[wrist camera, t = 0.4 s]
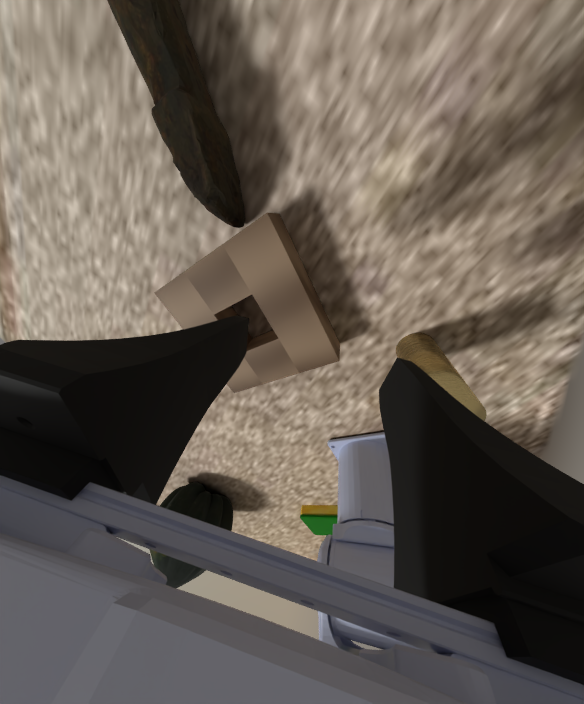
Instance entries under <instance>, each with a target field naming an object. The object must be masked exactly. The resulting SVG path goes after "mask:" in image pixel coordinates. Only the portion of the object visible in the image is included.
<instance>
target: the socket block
mask: <svg viewBox="0 0 584 704" xmlns="http://www.w3.org/2000/svg"><path fill="white" fill-rule="evenodd" d="M155 294H156V296H157V297H158V298H159V299H160V301H161V302H162V303H163V304H164V306H165V307H166V308H167V309H168V311H169V312H170V313H171V314H172V316H173V317H174V318H175V320H176V321H177V322H178V323H179V325H180V326H181V327H182V328H183V329H187V328H191V327H195V326H199V325H203V324H207V323H210V322H213V321H217V320H220V319H224V318H227V317H231V316H238V315H237V314H236V312H235V311H234V309H233V308H232V306H231V305H233V304H235V303H237V302H239V301H241V300H242V299H244V298H246V297H248V296H250V295H253V297H254V298H255V300H256V302H257V303H258V305H259V307H260V308H261V310H262V312H263V313H264V315H265V317H266V318H267V320H268V322H269V323H270V325H271V327H272V328H273V330H272V331H269V332H267V333H265V334H262V335H260V336H257V337H255V338H252V337H251V335H250V334H249V332H248V338H247V352H246V355H245V357H244V359H243V360H242V362H241V364H240V366H239V368H238V369H237V370H236V372H235V373H234V375H233V376H232V377H231V379H230V380H229V381H228V382H227V385H228V386H229V387H230V389H231V390H232V391H233V392H234V393H235V392H239V391H242V390H245V389H249V388H252V387H255V386H258V385H262V384H265V383H268V382H272V381H275V380H278V379H281V378H285V377H288V376H291V375H295V374H298V373H301V372H304V371H308V370H311V369H314V368H318V367H321V366H324V365H327V364H331V363H334V362H337V361H339V354H340V343H339V341H338V339H337V336H336V334H335V332H334V330H333V328H332V326H331V324H330V321H329V319H328V317H327V315H326V313H325V311H324V309H323V306H322V304H321V302H320V300H319V298H318V296H317V294H316V291H315V289H314V287H313V285H312V283H311V281H310V279H309V276H308V274H307V272H306V270H305V268H304V266H303V264H302V261H301V259H300V257H299V255H298V253H297V251H296V249H295V246H294V244H293V242H292V240H291V238H290V236H289V234H288V231H287V229H286V227H285V225H284V223H283V221H282V219H281V216H280V214H276V213H266V214H265V215H263V216H262V217H260V218H259V219H258V220H256V221H255V222H253V223H252V224H251V225H249V226H248V227H246V228H245V229H243V230H242V231H241V232H239V233H238V234H236V235H235V236H234V237H232V238H231V239H229V240H228V241H227V242H225V243H224V244H222V245H221V246H220V247H218V248H217V249H215V250H214V251H213V252H211V253H210V254H208V255H207V256H205V257H204V258H203V259H201V260H200V261H198V262H197V263H196V264H194V265H193V266H191V267H190V268H189V269H187V270H186V271H184V272H183V273H182V274H180V275H179V276H177V277H176V278H175V279H173V280H172V281H170V282H169V283H167V284H166V285H165V286H163V287H162V288H160V289H159V290H158V291H156V292H155Z"/></svg>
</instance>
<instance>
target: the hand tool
mask: <svg viewBox="0 0 584 704" xmlns="http://www.w3.org/2000/svg"><path fill="white" fill-rule="evenodd" d="M107 1H108V3H109V5H110V8H111V10H112V12H113V14H114V17H115V19H116V21H117V23H118V25H119V27H120V29H121V31H122V33H123V36H124V38H125V40H126V42H127V45H128V47H129V49H130V51H131V53H132V55H133V57H134V59H135V62H136V64H137V66H138V68H139V70H140V72H141V74H142V76H143V78H144V80H145V82H146V84H147V86H148V88H149V90H150V93H151V95H152V98H153V100H154V104H155V106H154V107H153V108H152V116H153V118H154V121H155V123H156V125H157V127H158V129H159V132H160V134H161V136H162V139H163V140H164V142H165V144H166V145H167V147H168V148H169V150H170V152H171V154H172V156H173V163H174V164H175V165H176V167H177V168H178V170H179V171H180V175H181V177H182V178H183V180H184V182H185V184H186V185H187V186H188V188H189V189H190V191H191V192H192V193H193V195H194V197H196V198H197V199H198V200H199V201H200V202H201V204H203V205H204V206H205V208H206V209H207V210H208V211H209V212H211V213H212V214H214V215H215V216H217V217H218V218H219V219H221V220H222V221H224V222H225V223H227V224H229V225H231V226H233V227H237V228H240V227H243V226H244V222H245V214H244V205H243V200H242V193H241V189H240V182H239V177H238V174H237V171H236V168H235V163H234V159H233V154H232V150H231V145H230V141H229V137H228V135H227V133H226V131H225V129H224V127H223V125H222V124H221V122H220V121H219V118H218V116H217V114H216V112H215V109H214V107H213V104H212V101H211V98H210V95H209V93H208V90H207V87H206V84H205V81H204V78H203V75H202V72H201V69H200V66H199V62H198V59H197V56H196V53H195V51H194V48H193V45H192V42H191V39H190V37H189V34H188V31H187V27H186V23H185V20H184V16H183V13H182V10H181V7H180V5H179V2H178V0H107Z"/></svg>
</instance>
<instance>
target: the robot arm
mask: <svg viewBox="0 0 584 704" xmlns="http://www.w3.org/2000/svg"><path fill="white" fill-rule="evenodd" d="M248 324H249V318H245V317H241V316H231V317H227V318H224V319H220V320H217V321H213V322H210V323H207V324H203V325H199V326H195V327H191V328H187V329H183V330H179V331H174V332H169V333H163V334H157V335H151V336H142V337H132V338H123V339H108V340H83V341H51V340H16V341H11V342H7V343H4V344H2V345H0V704H584V484H582V483H580V482H579V481H577V480H575V479H573V478H571V477H570V476H568V475H566V474H565V473H563V472H561V471H559V470H558V469H556V468H555V467H553V466H551V465H550V464H548V463H546V462H544V461H543V460H541V459H540V458H538V457H537V456H535V455H533V454H532V453H530V452H529V451H527V450H526V449H524V448H522V447H521V446H519V445H518V444H516V443H515V442H513V441H512V440H510V439H509V438H507V437H506V436H504V435H503V434H501V433H500V432H498V431H497V430H496V429H494V428H493V427H491V426H490V425H489V424H487V423H486V422H484V421H483V420H482V419H480V418H479V417H478V416H476V415H475V414H474V413H473V412H471V411H470V410H469V409H468V408H466V407H465V406H464V405H463V404H461V403H460V402H459V401H458V400H456V399H455V398H454V397H453V396H452V395H451V394H449V393H448V392H447V391H446V390H445V389H444V388H442V387H441V386H440V385H439V384H438V383H437V382H436V381H435V380H433V379H432V378H431V377H430V376H429V375H428V374H427V373H425V372H424V371H423V370H422V369H421V368H420V367H418V366H417V365H416V364H414V363H413V362H411V361H408V360H404V359H401V358H397V359H396V361H395V363H394V365H393V366H392V368H391V370H390V372H389V373H388V375H387V377H386V379H385V381H384V382H383V384H382V386H381V388H380V389H379V402H380V412H381V418H382V423H383V428H384V432H381V433H374V434H367V435H360V436H354V437H347V438H340V439H333V440H329V441H328V446H329V447H330V449H331V450H332V452H333V453H334V455H335V456H336V458H337V460H338V461H339V474H338V521H337V524H333V535H327V536H326V537H325V539H324V541H323V542H322V543H321V546H320V549H319V553H318V560H317V561H315V560H312V559H309V558H306V557H303V556H300V555H298V554H295V553H292V552H289V551H286V550H283V549H280V548H277V547H275V546H272V545H269V544H266V543H263V542H260V541H257V540H255V539H252V538H249V537H246V536H243V535H240V534H237V533H234V532H232V531H229V530H226V529H223V528H220V527H217V526H214V525H212V524H209V523H206V522H203V521H200V520H197V519H194V518H191V517H189V516H186V515H183V514H180V513H177V512H174V511H171V510H169V509H166V508H163V507H160V506H157V505H156V504H157V501H158V499H159V497H160V495H161V493H162V491H163V489H164V487H165V485H166V483H167V481H168V479H169V478H170V476H171V474H172V472H173V470H174V468H175V466H176V464H177V462H178V460H179V458H180V457H181V455H182V453H183V451H184V449H185V447H186V445H187V444H188V442H189V440H190V438H191V437H192V435H193V433H194V431H195V430H196V428H197V426H198V425H199V423H200V421H201V420H202V418H203V416H204V415H205V413H206V411H207V410H208V408H209V407H210V405H211V404H212V402H213V401H214V400H215V398H216V397H217V396H218V394H219V393H220V392H221V390H222V389H223V388H224V386H225V385H226V384H227V382H228V381H229V380H230V379H231V377H232V376H233V375H234V373H235V372H236V370H237V369H238V368H239V366H240V364H241V362H242V360H243V359H244V357H245V355H246V352H247V338H248ZM117 537H118V538H117ZM119 538H121V539H124V540H126V541H129V542H132V543H134V544H137V545H140V546H143V547H146V548H148V549H151V550H154V551H156V552H159V553H162V554H164V555H167V556H170V557H173V558H175V559H178V560H181V561H183V562H186V563H189V564H192V565H194V566H197V567H200V568H202V569H205V570H208V571H211V572H213V573H216V574H219V575H222V576H224V577H227V578H230V579H232V580H235V581H238V582H241V583H243V584H246V585H249V586H251V587H254V588H257V589H260V590H262V591H265V592H268V593H270V594H273V595H276V596H279V597H281V598H284V599H287V600H289V601H292V602H295V603H298V604H300V605H303V606H306V607H309V608H311V609H314V610H317V611H318V616H319V640H317V639H315V638H312V637H310V636H307V635H305V634H302V633H300V632H297V631H294V630H292V629H289V628H286V627H283V626H281V625H278V624H276V623H273V622H270V621H268V620H265V619H263V618H260V617H257V616H254V615H251V614H249V613H246V612H243V611H240V610H238V609H235V608H232V607H229V606H226V605H223V604H221V603H218V602H215V601H212V600H209V599H206V598H203V597H200V596H197V595H194V594H191V593H188V592H185V591H182V590H179V589H176V588H173V587H170V586H167V585H165V584H166V582H167V577H166V576H165V575H164V574H163V573H161V572H160V571H159V570H158V569H156V567H155V566H154V565H153V564H152V562H151V559H150V554H148V553H146V552H144V551H142V550H140V549H138V548H136V547H134V546H133V545H131V544H128V543H127V542H125V541H123V540H121V539H119ZM351 640H352V641H356V642H360V643H363V644H367V645H370V646H374V647H377V648H380V649H384V650H369V649H364V648H361V647H360V646H358V645H356V644H354V643H353V642H352V641H351Z"/></svg>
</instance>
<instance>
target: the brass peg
mask: <svg viewBox="0 0 584 704" xmlns="http://www.w3.org/2000/svg"><path fill="white" fill-rule="evenodd" d="M396 354H397V357H398V358H401V359H404V360H408V361H411V362H413V363H414V364H416V365H417V366H418V367H420V368H421V369H422V370H423V371H424V372H425V373H427V374H428V375H429V376H430V377H431V378H432V379H433V380H435V381H436V382H437V383H438V384H439V385H440V386H441V387H442V388H444V389H445V390H446V391H447V392H448V393H449V394H451V395H452V396H453V397H454V398H455V399H456V400H458V401H459V402H460V403H461V404H463V405H464V406H465V407H466V408H468V409H469V410H470V411H471V412H473V413H474V414H475V415H476V416H478V417H479V418H480V419H482V420H483V421H485V418H486V410H485V408H484V407H483V405H482V404H481V403H480V401H479V400H478V399H477V397H476V396H475V395H474V393H473V392H472V391H471V389H470V388H469V387H468V385H467V384H466V383H465V381H464V380H463V379H462V377H461V376H460V375H459V373H458V372H457V370H456V369H455V368H454V366H453V365H452V364H451V362H450V361H449V360H448V358H447V357H446V356H445V354H444V353H443V352H442V350H441V349H440V348H439V346H438V345H437V344H436V342H435V341H434V340H433V338H432V337H430V336H429V335H426V334H422V333H415V334H411V335H408V336H406V337H404V338H403V339H402V340H401V341H400V342H399V343H398V345H397V347H396Z"/></svg>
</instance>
